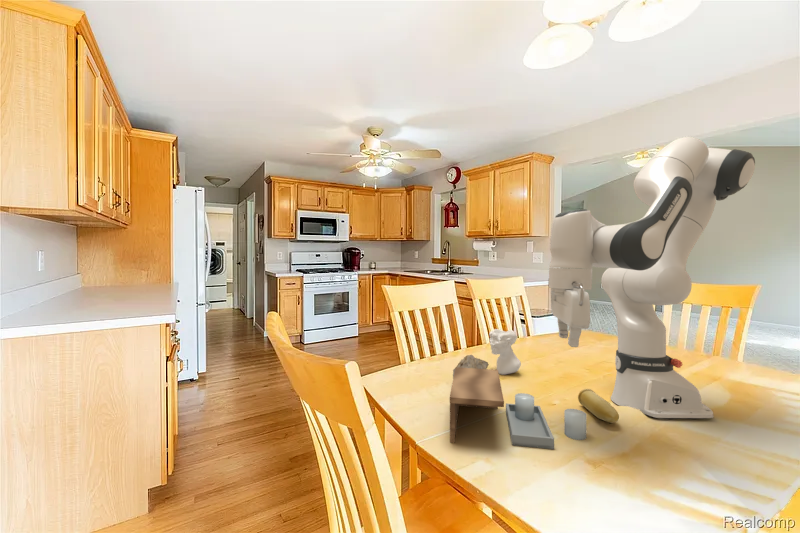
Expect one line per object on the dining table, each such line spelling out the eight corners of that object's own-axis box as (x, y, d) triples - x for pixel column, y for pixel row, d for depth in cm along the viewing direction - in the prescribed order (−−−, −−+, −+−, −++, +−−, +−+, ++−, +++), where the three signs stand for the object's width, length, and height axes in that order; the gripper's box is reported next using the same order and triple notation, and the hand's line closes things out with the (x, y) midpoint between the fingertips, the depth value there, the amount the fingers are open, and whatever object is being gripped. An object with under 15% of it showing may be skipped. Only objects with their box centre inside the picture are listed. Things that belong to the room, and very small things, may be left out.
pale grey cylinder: (532, 414, 90) (532, 394, 90) (535, 421, 86) (535, 400, 85) (514, 412, 91) (514, 392, 91) (516, 420, 86) (516, 399, 86)
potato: (577, 405, 97) (577, 387, 97) (597, 406, 96) (597, 387, 96) (600, 430, 83) (600, 408, 83) (625, 431, 82) (625, 409, 82)
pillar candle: (583, 431, 82) (583, 409, 82) (589, 440, 78) (589, 417, 78) (562, 429, 83) (562, 408, 83) (567, 438, 78) (567, 416, 78)
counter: (497, 407, 95) (497, 369, 95) (503, 450, 74) (503, 401, 74) (455, 404, 98) (455, 367, 97) (449, 444, 76) (449, 397, 76)
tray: (539, 414, 91) (539, 406, 91) (554, 449, 74) (554, 438, 74) (505, 411, 93) (505, 403, 92) (512, 445, 76) (512, 434, 76)
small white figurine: (526, 376, 121) (526, 331, 121) (500, 381, 116) (500, 334, 116) (505, 368, 130) (506, 327, 130) (480, 372, 125) (481, 329, 125)
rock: (462, 385, 104) (468, 351, 108) (448, 384, 110) (454, 351, 113) (493, 395, 109) (498, 361, 113) (479, 393, 115) (483, 361, 118)
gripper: (599, 284, 71) (597, 353, 71) (573, 279, 91) (572, 334, 91) (565, 282, 73) (563, 351, 73) (547, 278, 92) (545, 332, 93)
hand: (568, 341), depth 82 cm, fingers open, 8 cm apart
